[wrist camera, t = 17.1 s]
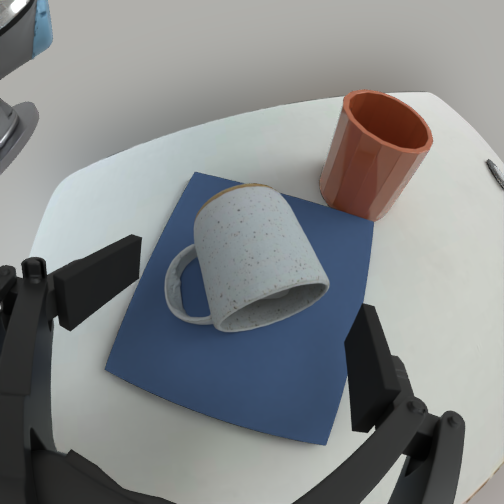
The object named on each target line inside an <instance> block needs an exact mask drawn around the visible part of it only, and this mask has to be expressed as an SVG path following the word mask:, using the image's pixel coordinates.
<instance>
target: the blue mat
mask: <svg viewBox="0 0 504 504" xmlns="http://www.w3.org/2000/svg"><path fill="white" fill-rule="evenodd" d="M242 184H244V183H240V182H236V181H232V180H228V179H224V178H219V177H215V176H211V175H207V174H202V173H198V172H194V174H193V176H192V178H191V180H190V181H189V183H188V185H187V187H186V189H185V190H184V192H183V194H182V196H181V198H180V200H179V202H178V203H177V205H176V207H175V209H174V211H173V213H172V215H171V217H170V219H169V221H168V223H167V225H166V227H165V229H164V231H163V233H162V235H161V237H160V239H159V241H158V243H157V245H156V247H155V249H154V251H153V253H152V255H151V257H150V259H149V262H148V264H147V266H146V268H145V270H144V272H143V275H142V277H141V279H140V281H139V284H138V286H137V288H136V290H135V293H134V295H133V297H132V300H131V302H130V304H129V307H128V309H127V312H126V314H125V316H124V319H123V321H122V324H121V326H120V329H119V331H118V334H117V337H116V339H115V342H114V344H113V347H112V350H111V352H110V355H109V358H108V361H107V363H106V366H105V370H106V371H108V372H110V373H112V374H114V375H116V376H117V377H119V378H121V379H123V380H125V381H127V382H129V383H131V384H133V385H135V386H137V387H140V388H142V389H144V390H146V391H148V392H150V393H152V394H155V395H157V396H159V397H162V398H164V399H166V400H169V401H171V402H173V403H176V404H178V405H181V406H183V407H186V408H188V409H191V410H194V411H196V412H199V413H202V414H205V415H207V416H210V417H213V418H216V419H219V420H222V421H225V422H228V423H231V424H235V425H238V426H241V427H245V428H248V429H252V430H255V431H259V432H263V433H267V434H271V435H275V436H279V437H283V438H288V439H293V440H297V441H302V442H307V443H313V444H319V445H326V444H327V441H328V438H329V435H330V432H331V429H332V426H333V423H334V420H335V417H336V413H337V410H338V407H339V403H340V400H341V397H342V393H343V389H344V386H345V382H346V378H347V375H348V374H347V364H346V355H345V347H344V341H345V339H346V337H347V335H348V333H349V331H350V329H351V327H352V324H353V322H354V320H355V318H356V316H357V314H358V311H359V309H360V307H361V305H362V303H363V301H364V295H365V289H366V282H367V276H368V269H369V262H370V254H371V246H372V237H373V227H374V222H373V221H370V220H367V219H364V218H361V217H358V216H355V215H352V214H349V213H346V212H342V211H339V210H336V209H333V208H330V207H326V206H323V205H320V204H316V203H313V202H310V201H306V200H303V199H299V198H296V197H292V196H289V195H285V194H282V193H280V194H281V196H282V197H283V198H284V199H285V200H286V201H287V203H288V204H289V206H290V207H291V209H292V211H293V212H294V214H295V216H296V218H297V220H298V222H299V224H300V226H301V228H302V230H303V232H304V233H305V235H306V237H307V239H308V241H309V242H310V244H311V246H312V248H313V250H314V252H315V254H316V256H317V258H318V260H319V262H320V264H321V266H322V268H323V270H324V271H325V273H326V275H327V277H328V279H329V284H330V285H329V289H328V291H327V292H326V293H325V294H324V295H323V297H321V298H320V299H319V300H318V301H316V302H315V303H314V304H313V305H311V306H310V307H308V308H306V309H304V310H302V311H301V312H299V313H296V314H294V315H292V316H290V317H288V318H285V319H283V320H281V321H278V322H275V323H272V324H269V325H266V326H262V327H258V328H254V329H252V330H246V331H238V332H223V331H220V330H217V329H216V328H215V327H214V324H209V325H199V324H193V323H189V322H185V321H183V320H181V319H179V318H177V317H176V316H175V315H174V314H173V313H172V312H171V311H170V309H169V307H168V305H167V302H166V298H165V290H164V287H165V277H166V273H167V270H168V268H169V266H170V264H171V262H172V260H173V259H174V258H175V257H176V256H177V255H178V254H179V253H180V252H181V251H182V250H184V249H185V248H186V247H188V246H190V245H192V244H195V243H194V222H195V218H196V215H197V213H198V211H199V210H200V209H201V207H202V206H203V205H204V204H205V203H206V202H207V201H208V200H209V199H210V198H211V197H213V196H214V195H216V194H217V193H219V192H221V191H223V190H225V189H228V188H231V187H234V186H237V185H242ZM180 281H181V286H180V290H181V298H182V305H183V308H184V310H185V311H186V313H187V315H189V316H190V317H207V316H209V315H211V313H210V309H209V304H208V300H207V296H206V291H205V287H204V282H203V277H202V272H201V268H200V264H199V260H198V256H197V257H196V258H195V259H193V260H192V261H191V262H190V263H189V264H188V265H187V266H186V267H185V269H184V270H183V272H182V274H181V276H180Z"/></svg>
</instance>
